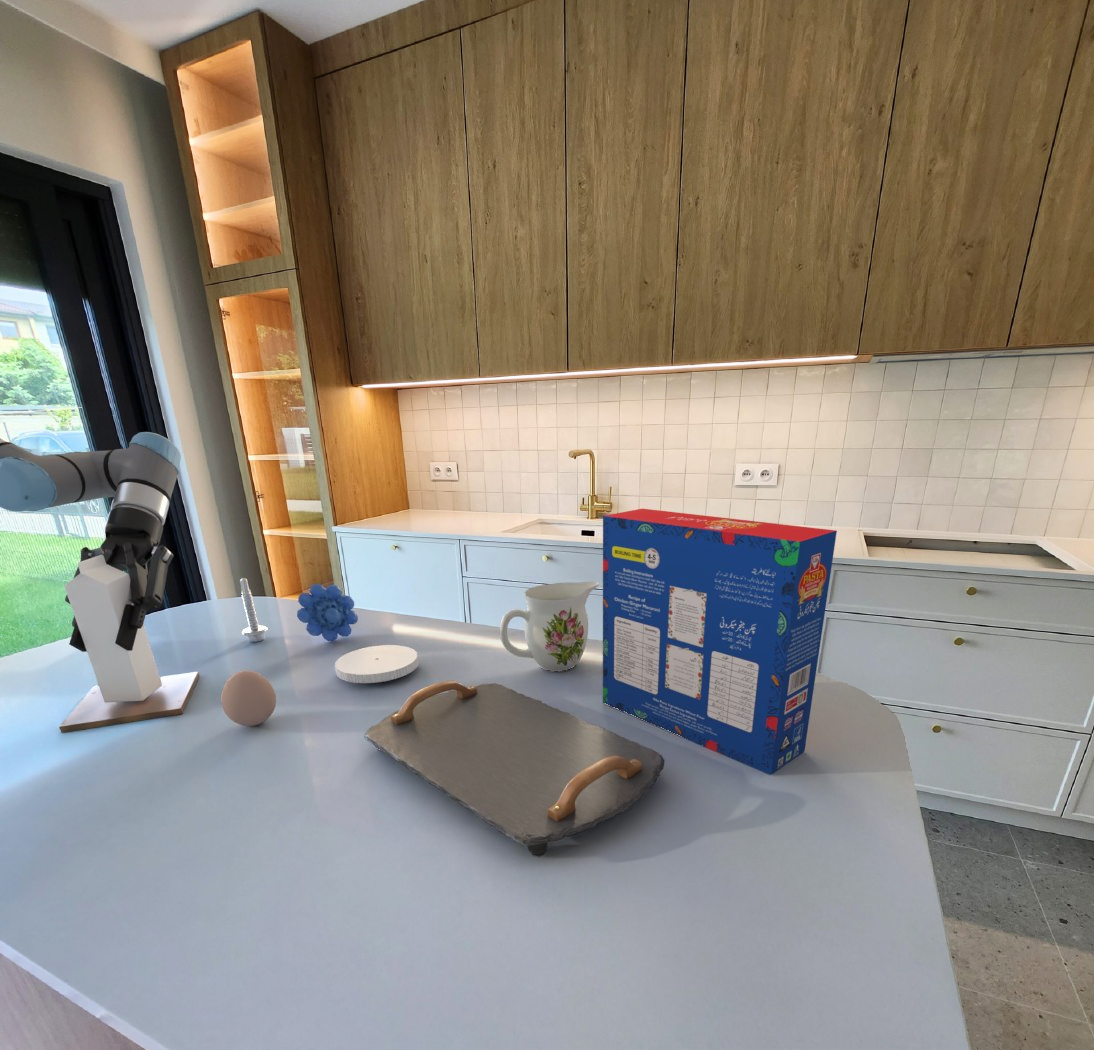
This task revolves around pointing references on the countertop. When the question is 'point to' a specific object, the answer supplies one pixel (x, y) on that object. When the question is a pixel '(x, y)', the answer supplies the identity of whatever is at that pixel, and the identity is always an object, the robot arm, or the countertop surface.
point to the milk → (111, 632)
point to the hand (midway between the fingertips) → (101, 647)
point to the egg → (248, 698)
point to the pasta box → (715, 628)
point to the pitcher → (552, 624)
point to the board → (132, 705)
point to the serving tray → (517, 760)
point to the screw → (251, 615)
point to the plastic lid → (376, 664)
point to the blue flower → (327, 612)
